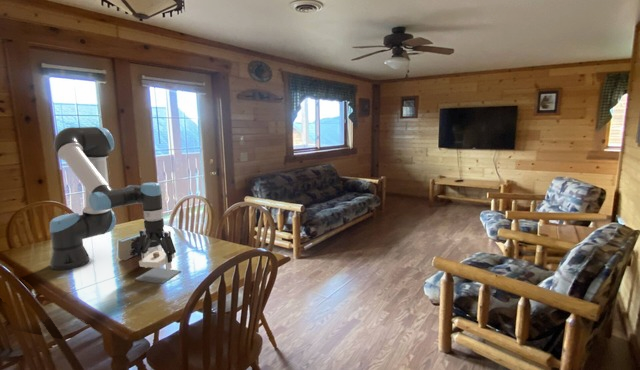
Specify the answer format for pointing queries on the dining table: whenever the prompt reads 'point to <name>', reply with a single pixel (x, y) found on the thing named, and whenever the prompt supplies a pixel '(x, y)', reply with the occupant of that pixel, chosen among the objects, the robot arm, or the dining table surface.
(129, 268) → the dining table surface
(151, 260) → the lid
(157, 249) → the jar
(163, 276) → the mat
